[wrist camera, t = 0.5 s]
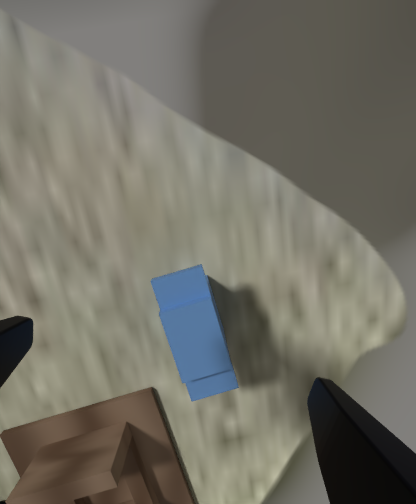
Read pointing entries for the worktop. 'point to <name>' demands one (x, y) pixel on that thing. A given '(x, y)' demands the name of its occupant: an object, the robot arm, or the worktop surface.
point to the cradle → (98, 456)
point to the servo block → (195, 332)
